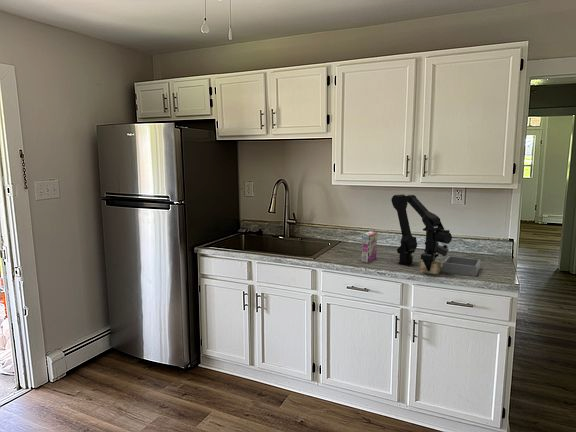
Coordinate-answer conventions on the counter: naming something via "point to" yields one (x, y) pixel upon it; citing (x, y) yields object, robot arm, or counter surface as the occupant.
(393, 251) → the counter surface
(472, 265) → the charcoal crate
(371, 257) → the candy bar box
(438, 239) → the robot arm
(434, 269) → the birch crate
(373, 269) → the counter surface
